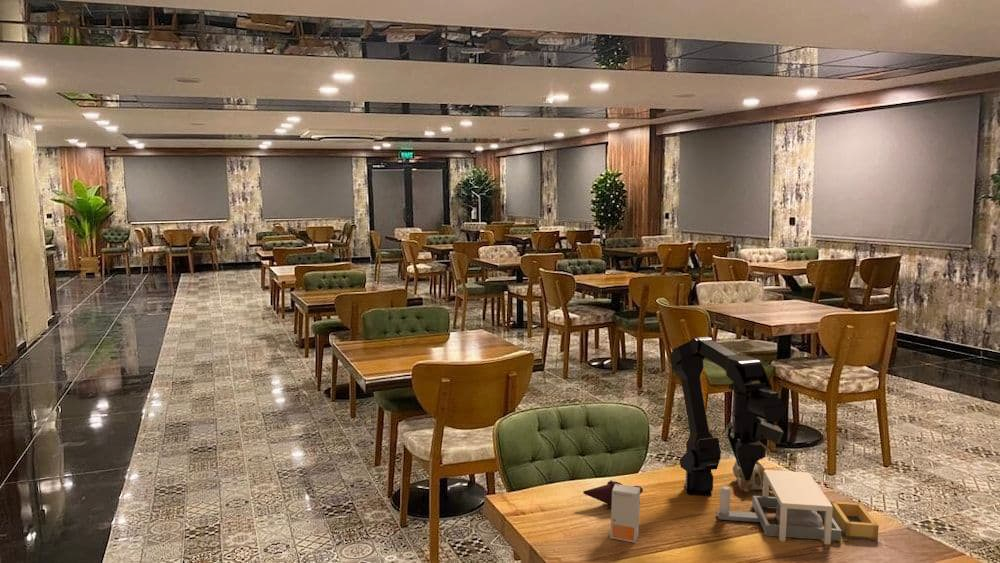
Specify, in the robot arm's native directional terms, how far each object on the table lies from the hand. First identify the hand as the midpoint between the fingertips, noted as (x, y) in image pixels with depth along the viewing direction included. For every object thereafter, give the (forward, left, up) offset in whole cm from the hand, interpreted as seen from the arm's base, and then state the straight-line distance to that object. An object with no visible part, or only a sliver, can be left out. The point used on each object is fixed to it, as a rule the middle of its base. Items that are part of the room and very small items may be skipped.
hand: (744, 473), depth 173 cm
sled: (+7, 0, -12) cm, 14 cm away
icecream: (-32, +2, -12) cm, 34 cm away
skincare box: (-29, -14, -12) cm, 34 cm away
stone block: (+13, 0, -13) cm, 18 cm away
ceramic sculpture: (+6, +21, -12) cm, 25 cm away
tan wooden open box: (+26, 0, -12) cm, 28 cm away
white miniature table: (+12, 0, -12) cm, 17 cm away
